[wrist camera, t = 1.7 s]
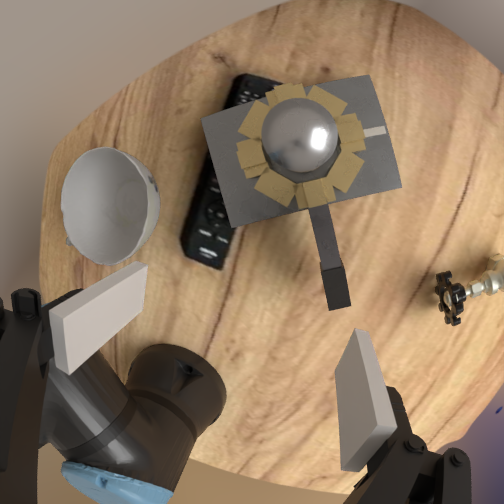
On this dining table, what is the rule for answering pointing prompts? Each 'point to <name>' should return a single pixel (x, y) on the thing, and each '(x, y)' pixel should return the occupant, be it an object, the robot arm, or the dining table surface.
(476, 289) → the valve
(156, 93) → the dining table surface
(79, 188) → the teacup
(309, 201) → the grey bar gold ring
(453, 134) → the dining table surface
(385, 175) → the plate
